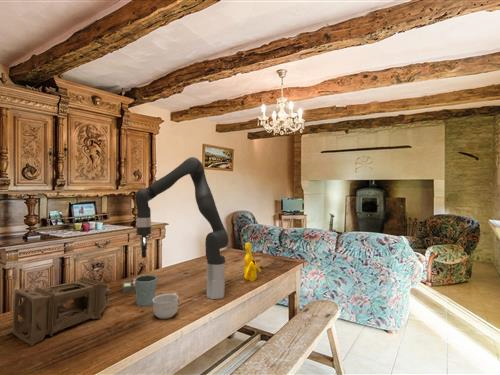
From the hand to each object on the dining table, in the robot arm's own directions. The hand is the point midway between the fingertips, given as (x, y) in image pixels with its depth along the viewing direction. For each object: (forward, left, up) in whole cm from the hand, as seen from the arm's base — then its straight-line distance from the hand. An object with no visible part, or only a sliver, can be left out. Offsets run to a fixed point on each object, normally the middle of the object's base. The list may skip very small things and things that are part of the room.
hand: (143, 257), depth 164 cm
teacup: (-38, -10, -17) cm, 43 cm away
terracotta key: (-3, +4, -15) cm, 15 cm away
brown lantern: (-33, +28, -17) cm, 47 cm away
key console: (0, +4, -17) cm, 17 cm away
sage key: (-3, +8, -16) cm, 18 cm away
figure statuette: (-3, -61, -17) cm, 64 cm away
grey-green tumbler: (-22, -1, -17) cm, 28 cm away
